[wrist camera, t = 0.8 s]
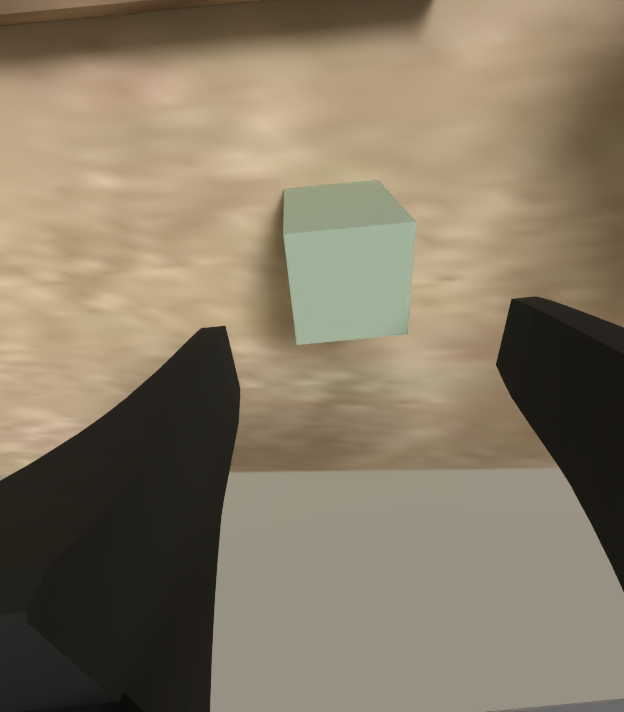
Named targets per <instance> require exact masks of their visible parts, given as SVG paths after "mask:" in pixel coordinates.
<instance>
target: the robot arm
mask: <svg viewBox="0 0 624 712" xmlns="http://www.w3.org/2000/svg"><path fill="white" fill-rule="evenodd" d="M496 366H497V368H498V370H499V372H500V375H501V377H502V379H503V381H504V383H505V385H506V387H507V389H508V391H509V393H510V395H511V397H512V399H513V400H514V402H515V403H516V405H517V406H518V408H519V409H520V411H521V412H522V414H523V415H524V417H525V418H526V420H527V421H528V423H529V424H530V425H531V427H532V428H533V430H534V431H535V433H536V434H537V436H538V437H539V439H540V440H541V441H542V443H543V444H544V446H545V447H546V449H547V450H548V452H549V453H550V454H551V456H552V457H553V459H554V460H555V462H556V463H557V465H558V466H559V468H560V469H561V470H562V472H563V474H564V475H565V477H566V479H567V480H568V482H569V484H570V485H571V487H572V489H573V491H574V493H575V494H576V496H577V498H578V500H579V502H580V504H581V506H582V507H583V509H584V511H585V513H586V515H587V517H588V518H589V520H590V522H591V524H592V526H593V528H594V530H595V532H596V534H597V536H598V538H599V540H600V542H601V545H602V547H603V548H604V550H605V552H606V555H607V557H608V558H609V561H610V563H611V565H612V567H613V569H614V571H615V574H616V576H617V578H618V580H619V582H620V585H621V587H622V589H623V591H624V328H623V327H621V326H618V325H616V324H613V323H610V322H608V321H605V320H602V319H600V318H597V317H595V316H592V315H589V314H587V313H584V312H582V311H579V310H576V309H574V308H571V307H568V306H565V305H563V304H560V303H557V302H554V301H551V300H547V299H544V298H540V297H526V298H516V299H511V304H510V308H509V312H508V316H507V321H506V325H505V329H504V333H503V338H502V342H501V346H500V350H499V355H498V359H497V363H496ZM239 406H240V386H239V381H238V377H237V373H236V369H235V364H234V360H233V356H232V352H231V347H230V343H229V339H228V335H227V331H226V326H219V327H209V328H201V329H200V330H199V331H197V332H196V333H195V334H194V335H193V336H192V337H191V338H190V339H189V340H188V341H187V342H186V343H185V344H184V345H183V346H182V347H181V348H180V349H179V350H178V351H177V352H176V353H175V354H174V355H173V356H172V357H171V358H170V359H169V360H168V361H167V362H166V363H165V364H164V365H163V366H162V367H161V368H160V369H158V370H157V371H156V372H155V373H154V374H153V375H152V376H151V377H150V378H149V379H147V380H146V381H145V382H144V383H143V384H142V385H141V386H139V387H138V388H137V389H136V390H135V391H134V392H133V393H131V394H130V395H129V396H128V397H127V398H126V399H124V400H123V401H122V402H121V403H119V404H118V405H117V406H116V407H114V408H113V409H112V410H110V411H109V412H108V413H107V414H105V415H104V416H102V417H101V418H100V419H98V420H97V421H96V422H94V423H93V424H91V425H90V426H89V427H87V428H86V429H84V430H83V431H81V432H80V433H79V434H77V435H75V436H74V437H72V438H71V439H69V440H67V441H66V442H64V443H63V444H61V445H60V446H58V447H56V448H55V449H53V450H52V451H50V452H48V453H47V454H45V455H44V456H42V457H41V458H39V459H37V460H36V461H34V462H32V463H31V464H29V465H27V466H26V467H24V468H22V469H20V470H18V471H17V472H15V473H13V474H11V475H10V476H8V477H6V478H4V479H2V480H1V481H0V712H210V691H211V663H212V641H213V623H214V604H215V589H216V575H217V561H218V547H219V537H220V524H221V515H222V508H223V501H224V496H225V491H226V485H227V480H228V475H229V470H230V465H231V460H232V455H233V449H234V444H235V439H236V433H237V428H238V422H239ZM488 712H624V699H615V700H604V701H593V702H584V703H574V704H562V705H552V706H541V707H530V708H520V709H509V710H498V711H488Z"/></svg>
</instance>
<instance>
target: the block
mask: <svg viewBox="0 0 624 712" xmlns="http://www.w3.org/2000/svg"><path fill="white" fill-rule="evenodd" d="M415 228H416V221H415V220H414V219H413V218H412V217H411V216H410V214H409V213H408V212H407V211H406V210H405V209H404V208H403V207H402V206H401V205H400V203H399V202H398V201H397V200H396V199H395V198H394V197H393V196H392V195H391V194H390V193H389V191H388V190H387V189H386V188H385V187H384V186H383V185H382V184H381V183H380V182H379V180H372V181H362V182H351V183H341V184H330V185H320V186H309V187H299V188H288V189H284V220H283V236H284V244H285V252H286V261H287V269H288V277H289V286H290V294H291V302H292V311H293V319H294V327H295V335H296V344H297V345H302V344H312V343H323V342H333V341H344V340H354V339H365V338H375V337H386V336H396V335H407V334H408V326H409V312H410V298H411V284H412V270H413V256H414V242H415Z"/></svg>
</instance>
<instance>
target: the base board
mask: <svg viewBox="0 0 624 712" xmlns="http://www.w3.org/2000/svg"><path fill="white" fill-rule="evenodd" d="M252 1H262V0H0V26H1V25H12V24H22V23H33V22H43V21H53V20H64V19H74V18H85V17H95V16H106V15H116V14H126V13H137V12H147V11H158V10H168V9H179V8H189V7H199V6H210V5H220V4H231V3H241V2H252Z"/></svg>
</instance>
